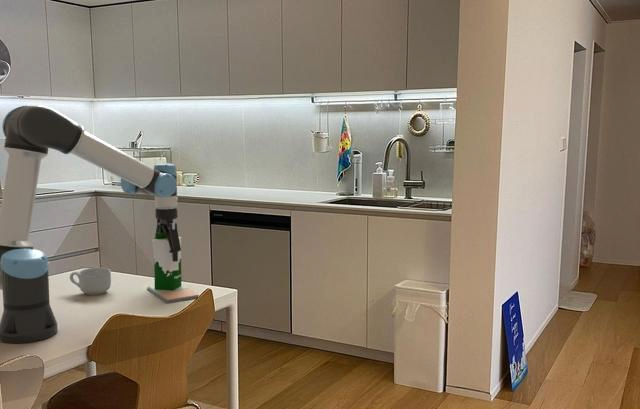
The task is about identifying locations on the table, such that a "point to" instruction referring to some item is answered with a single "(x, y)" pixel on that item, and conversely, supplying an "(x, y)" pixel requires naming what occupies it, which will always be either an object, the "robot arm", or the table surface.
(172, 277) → the soya milk
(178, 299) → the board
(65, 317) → the table surface
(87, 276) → the teacup
